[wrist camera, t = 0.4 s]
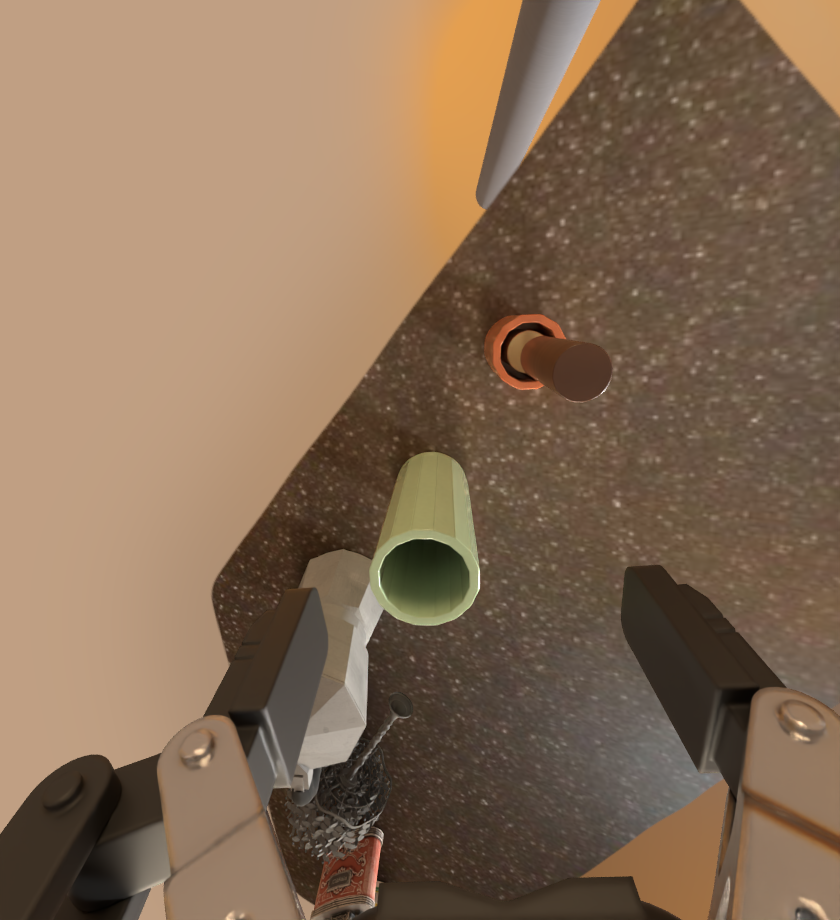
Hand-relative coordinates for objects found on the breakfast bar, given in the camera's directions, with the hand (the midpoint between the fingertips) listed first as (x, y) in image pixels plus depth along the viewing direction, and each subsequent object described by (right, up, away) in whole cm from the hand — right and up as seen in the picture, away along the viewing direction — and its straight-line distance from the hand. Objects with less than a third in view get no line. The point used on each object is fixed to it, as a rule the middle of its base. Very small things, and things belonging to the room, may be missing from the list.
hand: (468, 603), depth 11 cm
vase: (0, +1, +28) cm, 28 cm away
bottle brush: (+6, +13, +23) cm, 27 cm away
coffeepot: (-9, -10, +32) cm, 35 cm away
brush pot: (+6, +13, +24) cm, 28 cm away
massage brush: (-8, -27, +38) cm, 47 cm away
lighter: (-10, -44, +44) cm, 63 cm away
